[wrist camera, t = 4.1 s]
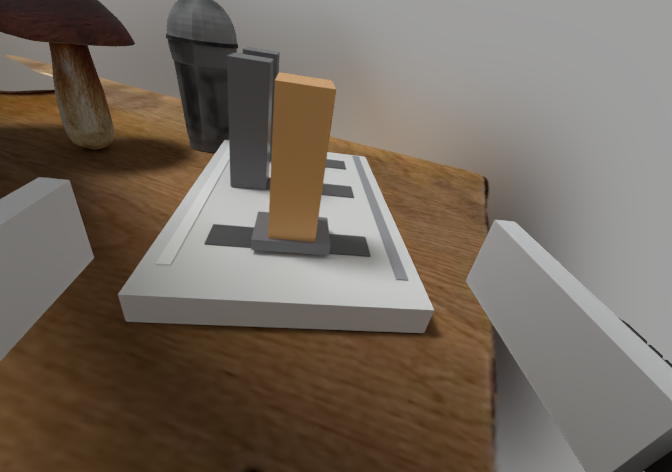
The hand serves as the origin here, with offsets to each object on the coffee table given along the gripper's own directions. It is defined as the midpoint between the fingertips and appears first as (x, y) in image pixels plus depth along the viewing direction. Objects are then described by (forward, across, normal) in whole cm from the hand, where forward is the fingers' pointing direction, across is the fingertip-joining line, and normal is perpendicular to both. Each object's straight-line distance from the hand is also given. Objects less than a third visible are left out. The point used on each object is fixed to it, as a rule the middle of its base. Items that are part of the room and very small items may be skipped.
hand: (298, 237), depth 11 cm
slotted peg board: (+17, 0, -9) cm, 19 cm away
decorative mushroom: (+28, -22, -9) cm, 37 cm away
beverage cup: (+33, -11, -9) cm, 36 cm away
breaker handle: (+10, 0, -7) cm, 12 cm away
